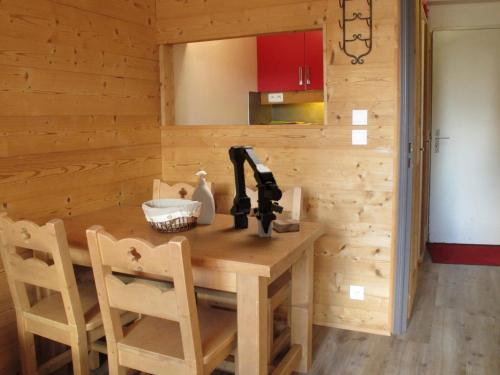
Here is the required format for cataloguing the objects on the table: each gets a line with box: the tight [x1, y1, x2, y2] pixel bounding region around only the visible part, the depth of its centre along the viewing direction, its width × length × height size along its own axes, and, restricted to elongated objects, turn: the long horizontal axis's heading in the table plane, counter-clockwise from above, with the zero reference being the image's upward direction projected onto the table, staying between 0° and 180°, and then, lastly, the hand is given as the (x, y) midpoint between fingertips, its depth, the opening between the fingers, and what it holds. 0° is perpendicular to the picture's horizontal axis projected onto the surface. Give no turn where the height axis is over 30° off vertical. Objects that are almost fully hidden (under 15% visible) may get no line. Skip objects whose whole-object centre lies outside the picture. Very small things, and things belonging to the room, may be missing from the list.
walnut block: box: [272, 218, 301, 233], centre depth 238 cm, size 10×10×4 cm
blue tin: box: [257, 220, 273, 238], centre depth 225 cm, size 5×5×7 cm
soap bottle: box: [191, 170, 216, 225], centre depth 252 cm, size 14×8×27 cm, turn 56°
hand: (264, 232), depth 225 cm, fingers closed on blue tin, 5 cm apart
